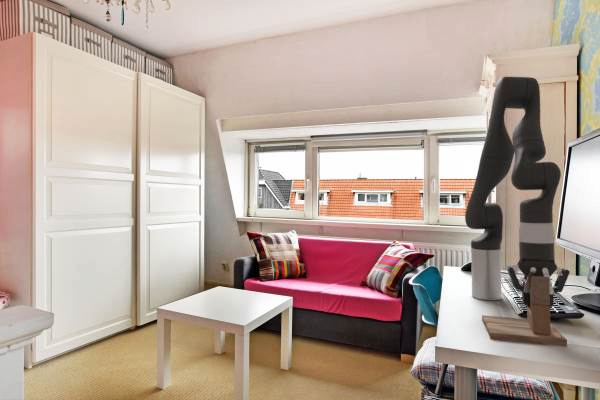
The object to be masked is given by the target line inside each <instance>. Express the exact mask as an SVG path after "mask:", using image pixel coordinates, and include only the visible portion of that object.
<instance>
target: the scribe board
mask: <svg viewBox="0 0 600 400" xmlns="http://www.w3.org/2000/svg"><path fill="white" fill-rule="evenodd" d="M481 321H482V323H483V325H484V327H485V330H486V332H487V334H488V337H489V339H490V340H491V339H492V340H502V341H509V342H510V341H511V342H522V343H532V344H541V345H542V344H543V345H550V346H551V345H552V346H562V347H563V346H564V347H567V346H568V340H567V338H566V337H565V336H564V335H563V334H562V333H561V332H560V331H559V330H558V329H557V328H556V327H555V326H554V325H553V324H552V323H551V322H550V335H543V334H535V333H533V331H532V329H531V326H530V324H529V322H528V320H527V318H521V317H520V318H519V317H508V316H497V315H495V316H494V315H484V314H482V315H481Z"/></svg>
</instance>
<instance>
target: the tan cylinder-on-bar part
mask: <svg viewBox="0 0 600 400" xmlns="http://www.w3.org/2000/svg"><path fill="white" fill-rule="evenodd" d="M529 293H530V307H526V316H527V318H526V319H527V320H528V322H529V324H530V326H531V329H532V331H533V333H535V334H543V335H550V323H551V309H550V285H549V277H542V276H532V279H531V285H530V289H529Z"/></svg>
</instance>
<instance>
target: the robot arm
mask: <svg viewBox="0 0 600 400" xmlns="http://www.w3.org/2000/svg"><path fill="white" fill-rule="evenodd" d="M540 90H541V89H540V84H539V81H538V80H537V79H536V78H534V77H529V76H501V77H500V78H499V80H498V81H497V83H496V84H495V88H494V92H493V99H492V103H491V111H490V114H489V115H490V116H489V121H488V122H489V123H488V127H487V132H486V135H485V140H484V143H483V147H482V151H481V155H480V158H479V164H478V169H477V173H476V177H475V181H474V185H473V188H472V191H471V194H470V197H469V199H468V202H467V205H466V209H465V214H464V221H465V224H466V226H467V228H469V229H471V230H483V233H482V234H481V235H479V236H478V237H476V238H474V239H473V238H472V240H471V242H470V251H471V252H470V253H471V255H470V256H471V258H470V259H471V262H470V263H471V297H473V298H475V299H477V300H483V301H500V300H501V299H502V263H501V262H502V261H501V260H502V257H501V255H502V254H501V244H502V242H503V225H504V220H503V219H504V214H503V209H502V208H501V206H500V205H499V204H498V203H495V202H487V201H488V198H489V196H490V194H491V192H493V191H494V190H495V188H496V187H497V186H498V185H499V184H500V183H501V182H502V181H503V180H504V179H505V178H506V176H508V174H509V172H510V170H511V167H513V168H512V172H511V176H510V181H511V184H512V186H514V188H515V189H516V190H519V191H540V190H541V193H540V194H539V195H538V196H537V197H534V198H528V199H525V200H522V201H521V202H520V204H519V228H518V229H519V230H518V241H519V242H518V243H519V245H518V246H519V249H518V250H519V252H518V253H519V259H518V261H517V264H515V265H512V266H510V265H508V266H506V271H507V273H508V275H509V279H510V281H511V284H512V285H513V287H514V289H516V290H517V291H520V292H521V295H522V296H521V301H522V304H523V305H524V306H525V307H526V308H527V307H530V293H529V289H530V285H531V279H532V276H542V277H549V285H550V310H551V309H552V307H553V306H554V296H555V294H557V293H562V292H563V290H564V288H565V284H566V282H567V280H568V278H569V277H570V270H568V269H567V268H565V267H560V266H557V263H556V261H555V260H556V259H555V254H556V253H555V240H556V237H555V229H554V223H553V222H554V221H553V220H554V215H553V208H554V207H553V206H554V200H555V197H556V193H557V189H558V187H559V185H560V181H561V177H562V175H561V174H562V173H561V169H560V167H559V165H558V164H556V163H555V162H553V161H542V160H543V159H544V158H545V156H546V153H547V150H546V146H545V141H544V136H543V133H542V126H541V91H540ZM506 109H513V110H514V109H516V110H517V109H518V110H524V115H523V117H522V118H521V120H520V121H519V122H518V123H517V125H516V126H515V128H514V130H513V132H512V137H510V134H509V132H508V131H507V127H506V123H505V112H506ZM511 138H512V139H511ZM513 161H514V164H513V166H512V163H513ZM540 161H541V162H540ZM519 270H520V271H521V273H522V274H523V278H522V284H520V281H519V280H518V277H517V274H518V273H519V272H518V271H519ZM555 272H556V275H557V277H556V279H555V282H554V285H553V283H552V280H551V276H552V275H553V274H554V273H555Z"/></svg>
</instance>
